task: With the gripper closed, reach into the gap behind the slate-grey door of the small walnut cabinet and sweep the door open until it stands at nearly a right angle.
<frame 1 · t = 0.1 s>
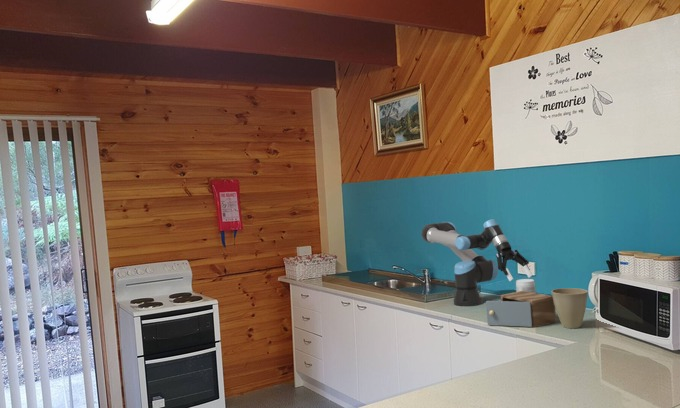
hand: (521, 278, 282), 15 cm above the worktop, tool tilted 35°, fingers open, 13 cm apart
supplement tub: (527, 308, 280), on the worktop
plant pot: (571, 326, 239), on the worktop
cabinet door: (508, 313, 246), point 6 cm above the worktop, hinge at 35.0°
cabinet: (528, 320, 254), on the worktop
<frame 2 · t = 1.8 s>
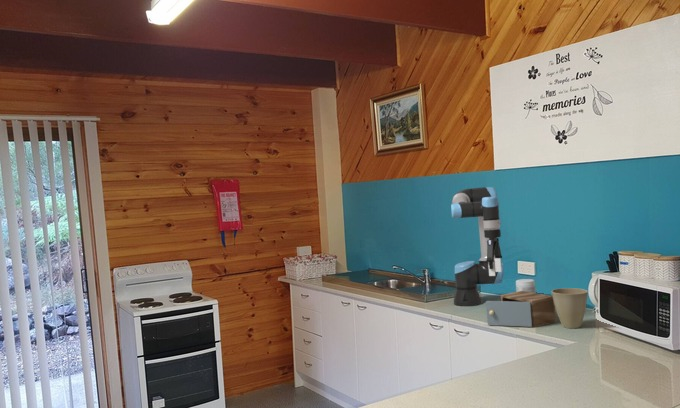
hand: (495, 273, 254), 23 cm above the worktop, tool pointing down, fingers open, 13 cm apart
nothing on the worktop moved.
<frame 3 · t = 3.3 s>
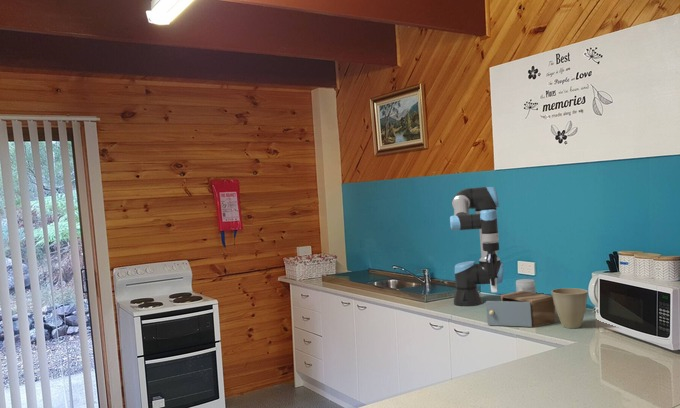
hand: (494, 291, 253), 15 cm above the worktop, tool pointing down, fingers closed
nothing on the worktop moved.
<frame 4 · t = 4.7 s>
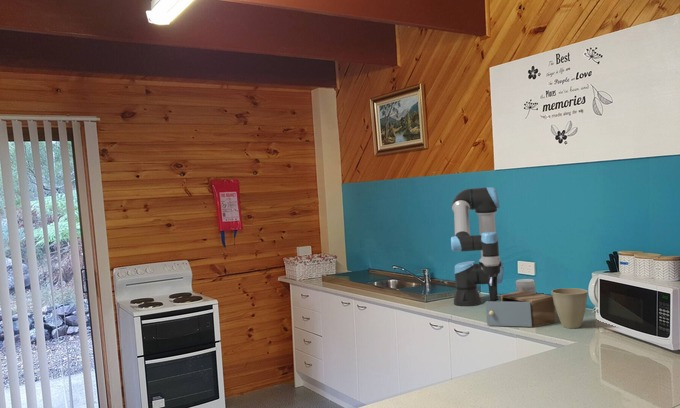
hand: (494, 314, 253), 5 cm above the worktop, tool pointing down, fingers closed
cabinet door: (508, 314, 246), point 6 cm above the worktop, hinge at 37.6°, touching gripper
everything else where it was.
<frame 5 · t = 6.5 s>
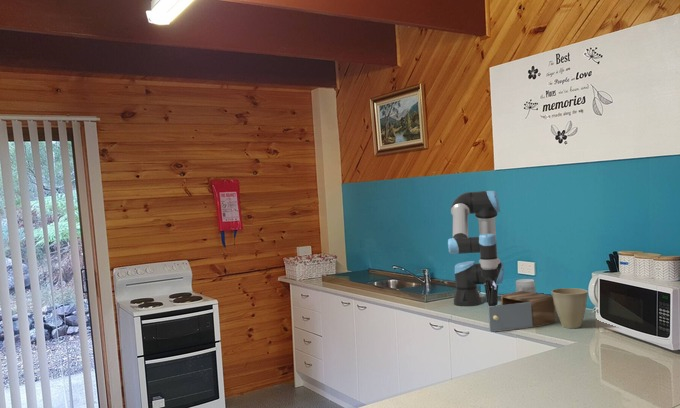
hand: (493, 319, 244), 5 cm above the worktop, tool pointing down, fingers closed
cabinet door: (511, 317, 240), point 6 cm above the worktop, hinge at 70.3°, touching gripper
everything else where it was.
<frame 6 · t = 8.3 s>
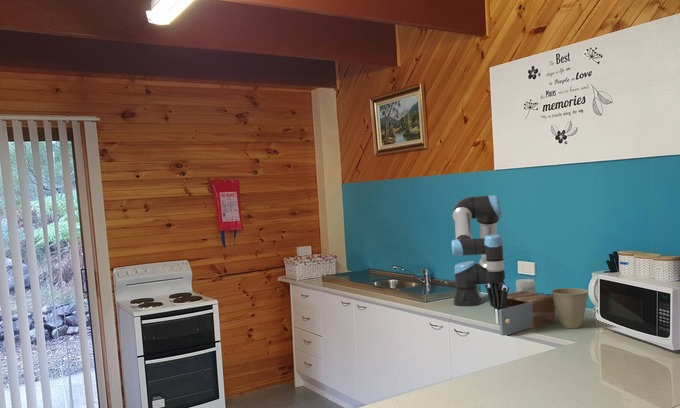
hand: (499, 323, 237), 4 cm above the worktop, tool pointing down, fingers closed
cabinet door: (517, 318, 236), point 6 cm above the worktop, hinge at 94.8°, touching gripper
everything else where it was.
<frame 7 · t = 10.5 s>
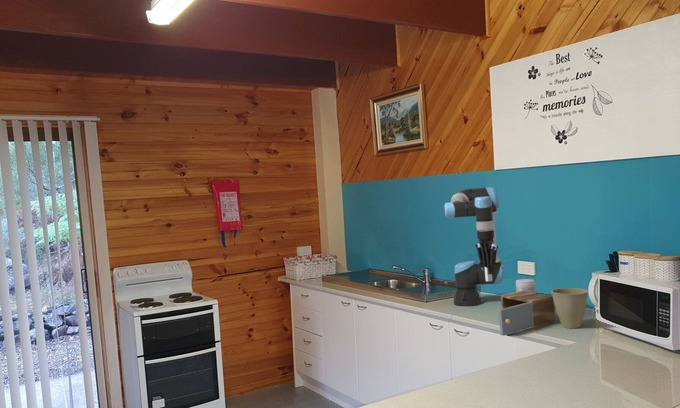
hand: (489, 280, 248), 22 cm above the worktop, tool pointing down, fingers closed
cabinet door: (517, 318, 236), point 6 cm above the worktop, hinge at 94.9°
everything else where it was.
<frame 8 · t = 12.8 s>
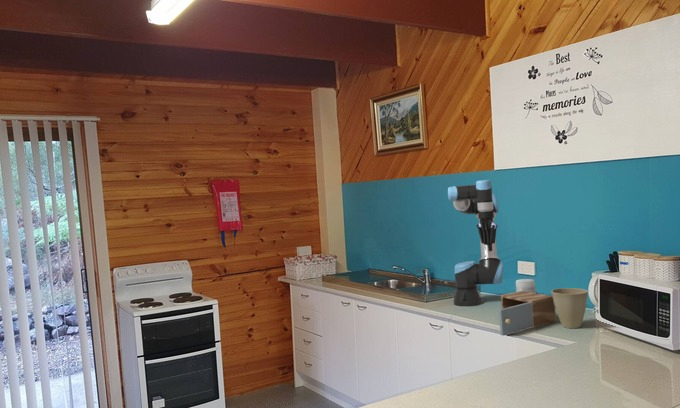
hand: (489, 257, 269), 29 cm above the worktop, tool pointing down, fingers closed
nothing on the worktop moved.
at the end: cabinet door at +95° (first picture: +35°); plant pot moved 0.2 cm from its start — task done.
